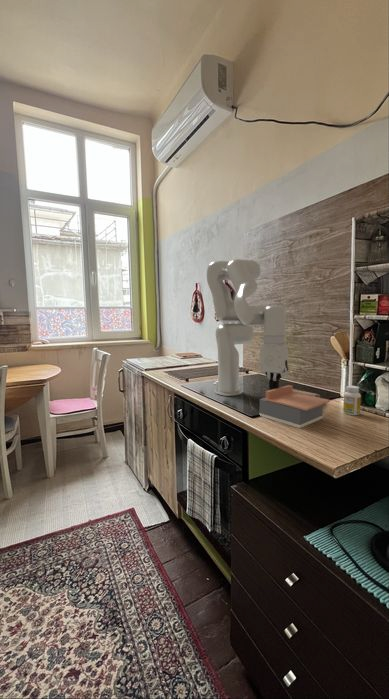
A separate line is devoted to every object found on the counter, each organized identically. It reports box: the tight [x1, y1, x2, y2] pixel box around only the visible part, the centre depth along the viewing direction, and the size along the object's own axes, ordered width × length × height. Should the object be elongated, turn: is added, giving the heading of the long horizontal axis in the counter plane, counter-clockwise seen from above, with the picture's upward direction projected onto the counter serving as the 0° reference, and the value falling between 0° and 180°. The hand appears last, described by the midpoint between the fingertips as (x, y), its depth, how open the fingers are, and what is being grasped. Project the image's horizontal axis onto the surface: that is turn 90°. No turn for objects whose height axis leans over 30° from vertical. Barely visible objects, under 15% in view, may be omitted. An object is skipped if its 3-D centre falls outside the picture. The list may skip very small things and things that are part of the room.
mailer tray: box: [258, 397, 324, 429], centre depth 108 cm, size 16×14×6 cm
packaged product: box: [293, 388, 321, 398], centre depth 127 cm, size 18×5×10 cm
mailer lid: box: [263, 384, 331, 411], centre depth 106 cm, size 16×15×3 cm
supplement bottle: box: [342, 385, 362, 416], centre depth 111 cm, size 5×5×10 cm
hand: (273, 390), depth 113 cm, fingers closed
